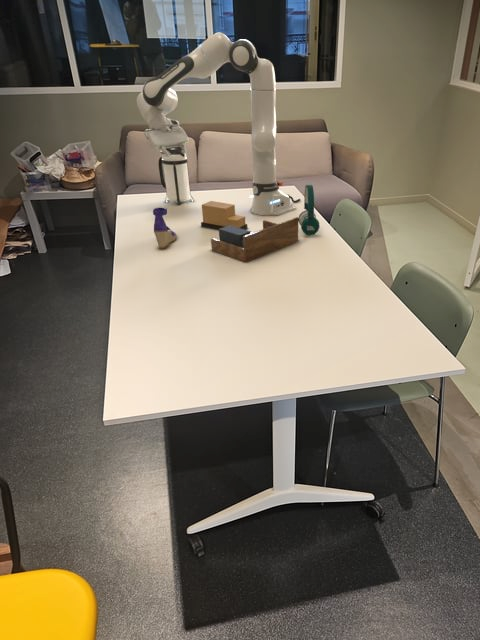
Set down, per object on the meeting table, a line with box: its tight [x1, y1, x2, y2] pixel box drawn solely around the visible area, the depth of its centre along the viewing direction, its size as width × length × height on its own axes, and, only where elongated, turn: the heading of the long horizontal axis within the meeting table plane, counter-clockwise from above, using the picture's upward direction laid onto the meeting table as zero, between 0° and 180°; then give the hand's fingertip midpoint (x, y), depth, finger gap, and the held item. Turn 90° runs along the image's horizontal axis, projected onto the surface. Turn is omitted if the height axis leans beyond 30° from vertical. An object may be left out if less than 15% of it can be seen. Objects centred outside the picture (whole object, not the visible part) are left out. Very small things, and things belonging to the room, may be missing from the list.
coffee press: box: [158, 146, 195, 206], centre depth 257 cm, size 17×16×30 cm
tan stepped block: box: [200, 200, 248, 231], centre depth 227 cm, size 20×8×10 cm, turn 62°
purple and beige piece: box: [152, 207, 177, 250], centre depth 210 cm, size 8×20×15 cm, turn 174°
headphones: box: [298, 184, 320, 236], centre depth 220 cm, size 8×15×20 cm, turn 5°
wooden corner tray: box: [210, 216, 299, 263], centre depth 208 cm, size 20×32×10 cm, turn 140°
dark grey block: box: [218, 225, 252, 248], centre depth 204 cm, size 20×7×8 cm, turn 50°
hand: (177, 154), depth 228 cm, fingers open, 8 cm apart
